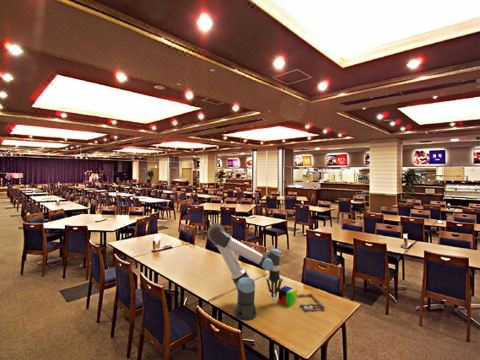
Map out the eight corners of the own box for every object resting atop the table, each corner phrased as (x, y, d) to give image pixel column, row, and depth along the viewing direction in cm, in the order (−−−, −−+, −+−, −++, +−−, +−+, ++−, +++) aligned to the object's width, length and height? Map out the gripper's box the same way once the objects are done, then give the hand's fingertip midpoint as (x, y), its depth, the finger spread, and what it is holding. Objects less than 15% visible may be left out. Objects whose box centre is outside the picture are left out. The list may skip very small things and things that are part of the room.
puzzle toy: (284, 298, 201) (285, 285, 201) (296, 302, 195) (296, 289, 195) (278, 302, 193) (278, 289, 193) (290, 307, 187) (290, 293, 187)
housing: (303, 313, 179) (304, 308, 179) (291, 297, 203) (291, 293, 203) (326, 312, 182) (326, 307, 182) (311, 296, 205) (311, 292, 205)
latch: (304, 311, 181) (305, 306, 181) (303, 309, 183) (303, 304, 183) (312, 310, 182) (312, 306, 182) (311, 309, 184) (311, 304, 184)
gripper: (267, 271, 187) (266, 304, 187) (284, 271, 190) (283, 303, 190) (264, 268, 195) (264, 299, 195) (281, 267, 197) (280, 298, 197)
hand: (273, 301), depth 192 cm, fingers closed
